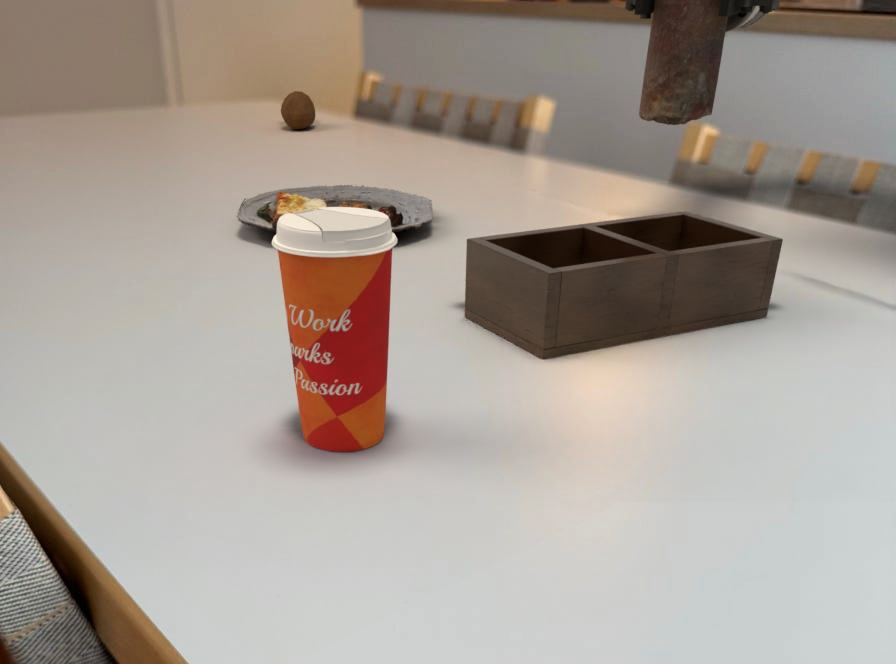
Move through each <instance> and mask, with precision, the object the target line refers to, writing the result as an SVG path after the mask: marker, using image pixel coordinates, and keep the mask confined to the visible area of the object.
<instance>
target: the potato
mask: <svg viewBox="0 0 896 664" xmlns="http://www.w3.org/2000/svg"><path fill="white" fill-rule="evenodd" d="M280 115H281V117H282V119H283V121H284V123H285V124H286V125H287V127H288V128H290V129H293V130H303V129H306V128H309V127H310V126H312V125H313V124H314V122H315V119H316V108H315V104H314V102H313V100H312V99H311V98H310V96H309V95H308V94H306V93H305V92H303V91H299V90H298V91H297V90H295V91H292V92H290V93H289V94H288V95H286V97H284V99H283V100H282V103H281V107H280Z"/></svg>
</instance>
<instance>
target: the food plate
mask: <svg viewBox="0 0 896 664" xmlns="http://www.w3.org/2000/svg"><path fill="white" fill-rule="evenodd" d="M321 207H354V208H364V209H370V210H375V211H379V212H382V213H384V214H386V215H387V216H388V217H389V219H390V222H391V228H392V232H393V233H396V232H398V233H401V232H402V231H404V230H407V231H409V230H410V229H412V232H414V229H416V230H417V229H419V228H420V227H421V226H422V224H423V223H424V224H425V225H429V224H430V223H431V222H432V220H433V219H434V211H433V200H432V199H430V198H427V196H426V197H425V196H421V195H418V194H413V193H409V192H405V191H404V192H403V191H399V190H395V189H393V188H391V189H389V188H385V187H383V188H382V187H377V186H364V185H363V184H362V185H360V186H359V185H353V184H344V185H342V184H339V185H337V184H336V185H335V184H334V185H311V186H303V187H290V188H282V189H276V190H272V191H266V192H262V193H259V194H257V195H255V196H253V197H252V196H251V197H249V198H245V197H244V199H243V201H242V202H241V203H240V206H239V208H238V211H237V213H236V218H237V220H238V221H239V222H240V223H241V224H243V225H245V226H249V227H252V228H256V229H259V230H263V231H265V232H266V231H267V232H274V233H277V222H278V220H279V218H280V217H281V216H282V215H284V214H287V213H291V214H294V215H295V212H297V211H302V210H308V209H313V211H316V210H317V208H321Z"/></svg>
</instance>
